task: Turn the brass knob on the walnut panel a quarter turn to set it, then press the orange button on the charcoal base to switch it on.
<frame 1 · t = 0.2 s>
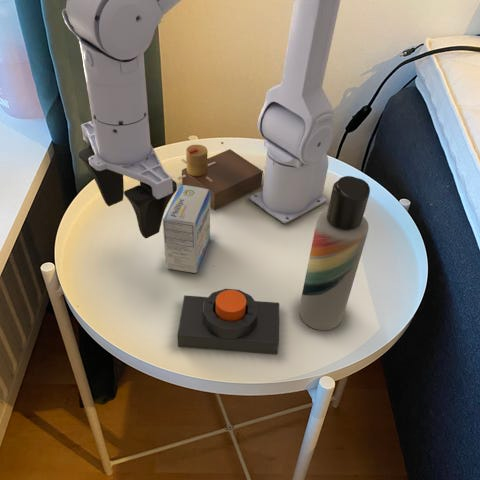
hand: (132, 217, 66), 10 cm above the table, tool pointing down, fingers open, 7 cm apart
medicine box: (188, 254, 78), on the table
dial: (196, 159, 84), point 5 cm above the table, hinge at 0.0°
dial panel: (222, 186, 88), on the table
lotion bottle: (320, 315, 71), on the table
switch base: (229, 330, 68), on the table
start button: (230, 305, 65), point 4 cm above the table, slide at 0.1 cm
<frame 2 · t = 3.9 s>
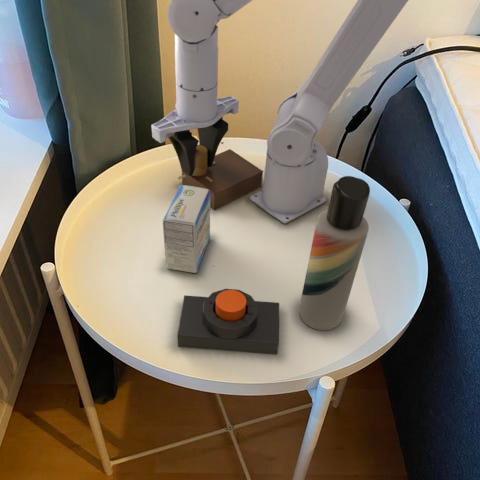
hand: (197, 167, 85), 4 cm above the table, tool pointing down, fingers closed on dial, 3 cm apart
dial: (196, 159, 84), point 5 cm above the table, hinge at -0.1°, touching gripper
everything else where it was.
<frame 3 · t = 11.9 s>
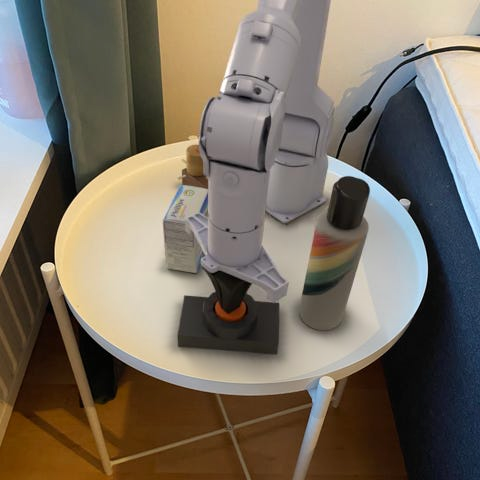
hand: (230, 307, 65), 4 cm above the table, tool pointing down, fingers closed, pressing on start button
dial: (196, 159, 84), point 5 cm above the table, hinge at 90.3°
start button: (230, 311, 66), point 3 cm above the table, slide at -1.0 cm, touching gripper
everything else where it was.
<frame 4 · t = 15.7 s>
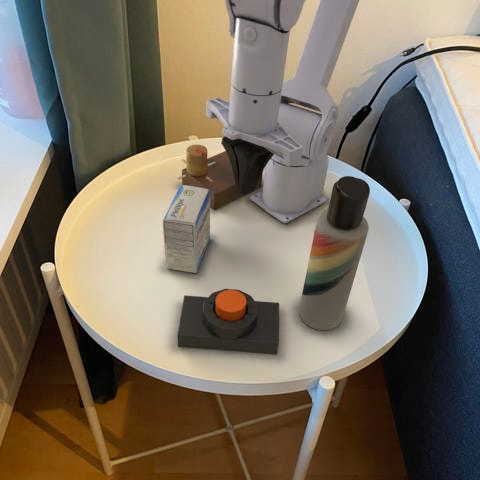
hand: (245, 190, 70), 10 cm above the table, tool pointing down, fingers closed
start button: (230, 305, 65), point 4 cm above the table, slide at 0.1 cm
everything else where it was.
at the end: dial at +90° (first picture: +0°); start button pushed in 1.2 cm at the most during the clip, back to where it started at the end; start button slide at 0.1 cm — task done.
